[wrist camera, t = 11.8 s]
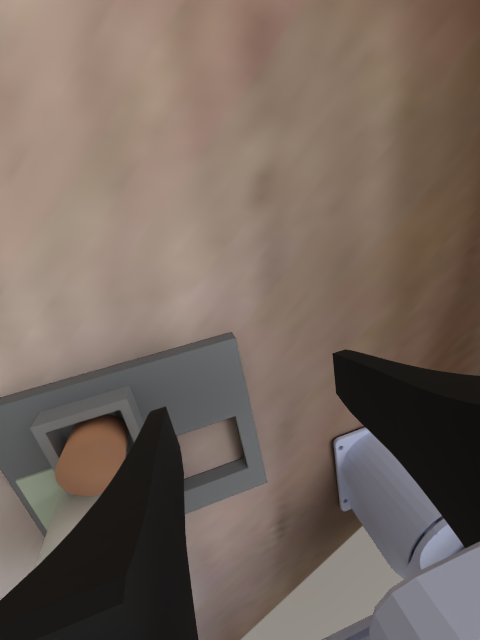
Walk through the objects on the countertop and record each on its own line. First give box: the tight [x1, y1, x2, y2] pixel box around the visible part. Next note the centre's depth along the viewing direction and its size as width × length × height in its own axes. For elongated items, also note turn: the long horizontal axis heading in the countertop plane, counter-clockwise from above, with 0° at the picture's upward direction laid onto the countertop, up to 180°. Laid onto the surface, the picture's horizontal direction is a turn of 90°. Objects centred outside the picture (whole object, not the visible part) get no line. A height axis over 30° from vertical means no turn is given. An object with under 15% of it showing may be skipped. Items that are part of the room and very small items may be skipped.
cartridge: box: [34, 489, 102, 569], centre depth 19 cm, size 4×4×6 cm
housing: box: [0, 332, 267, 537], centre depth 21 cm, size 14×17×3 cm
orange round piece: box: [55, 414, 128, 496], centre depth 18 cm, size 4×4×3 cm
